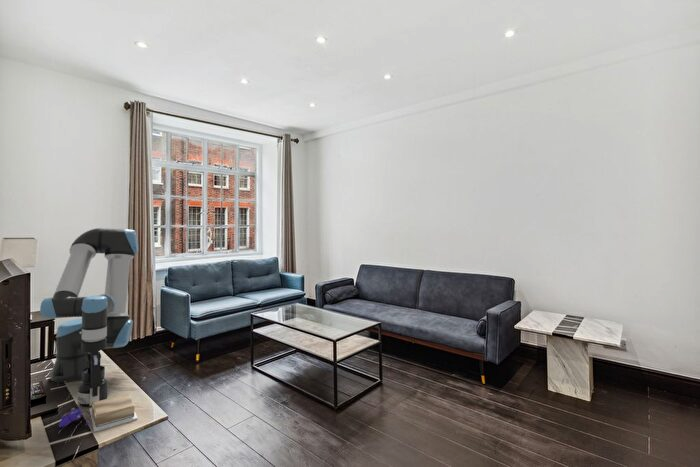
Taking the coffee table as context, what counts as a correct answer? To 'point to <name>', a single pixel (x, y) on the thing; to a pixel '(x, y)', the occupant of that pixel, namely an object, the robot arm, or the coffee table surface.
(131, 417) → the grey thin flat slab
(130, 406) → the oak plinth
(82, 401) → the ink bottle
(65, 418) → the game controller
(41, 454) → the coffee table surface
